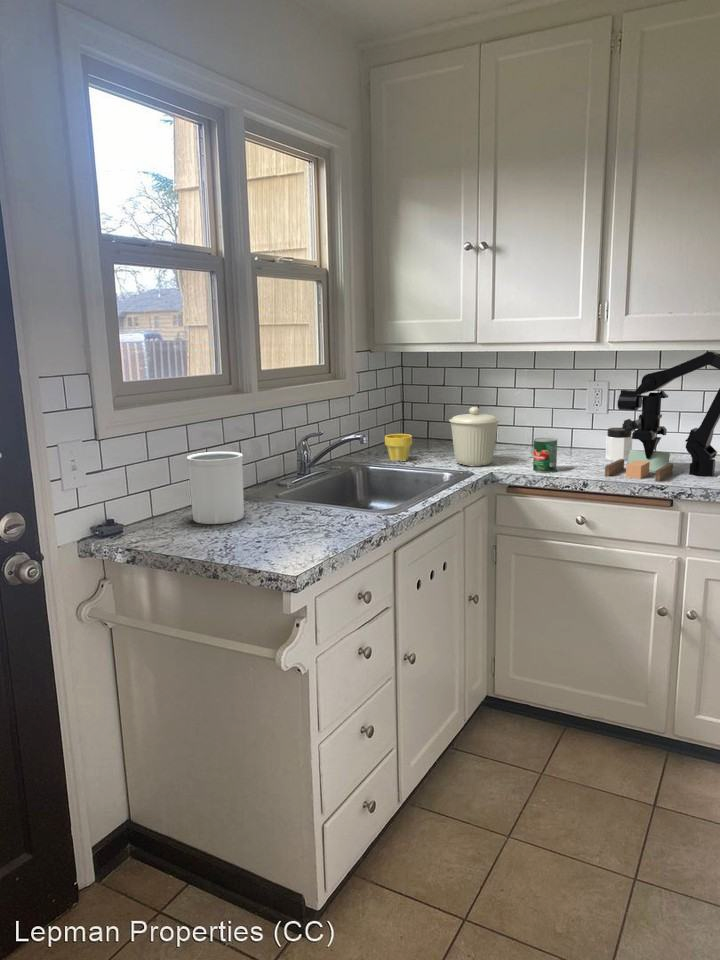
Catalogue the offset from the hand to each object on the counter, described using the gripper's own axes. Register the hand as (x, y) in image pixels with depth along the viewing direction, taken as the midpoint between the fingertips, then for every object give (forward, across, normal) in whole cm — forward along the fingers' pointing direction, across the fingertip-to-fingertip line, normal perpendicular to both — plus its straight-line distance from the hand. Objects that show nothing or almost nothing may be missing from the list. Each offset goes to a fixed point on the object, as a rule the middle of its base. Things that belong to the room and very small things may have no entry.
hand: (648, 458), depth 240 cm
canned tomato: (+6, +11, -31) cm, 34 cm away
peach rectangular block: (+4, +10, 0) cm, 11 cm away
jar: (+5, -17, -15) cm, 23 cm away
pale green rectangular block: (+4, +2, 0) cm, 4 cm away
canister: (+6, +12, -58) cm, 60 cm away
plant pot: (+6, +19, -86) cm, 89 cm away
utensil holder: (+9, +115, -82) cm, 142 cm away
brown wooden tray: (+5, +9, 0) cm, 10 cm away
